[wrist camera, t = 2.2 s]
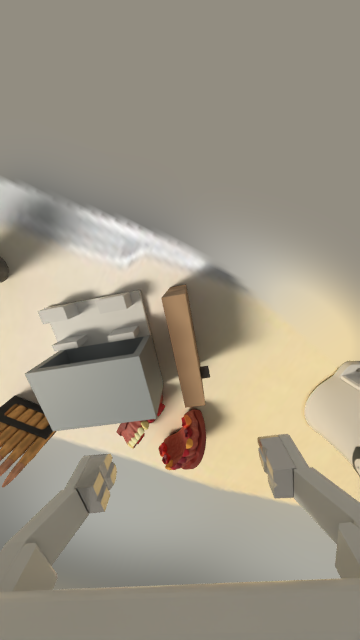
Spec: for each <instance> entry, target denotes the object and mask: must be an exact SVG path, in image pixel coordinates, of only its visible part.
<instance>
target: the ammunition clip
mask: <svg viewBox="0 0 360 640" xmlns="http://www.w3.org/2000/svg"><path fill="white" fill-rule="evenodd" d="M55 432H56V431H53V430H52V428H51V426H50V424H49V422H48V420H47V418H46V416H45V414H44V412H43V410H42V408H41V406H40V405H37V404H35V403H32V402H30V401H27V400H25V399H22V398H20V397H17V396H14V397H12V398H11V399H10V400H9V401H7V402H6V403H5V404H4V405H2V406H1V407H0V447H2V448H1V449H0V461H1V460H2V459H3V458H4V457H5V456H6V455H7V454H8V453H10V452H11V451H12V450H13V449H14V448H15V449H14V450H13V451H12V453H11V454H10V455H9V456H8V458H7V459H6V460H5V461H4V462H3V463H2V464H1V466H0V476H1V475H2V474H3V473H4V472H5V471H6V470H7V469H8V468H9V467H10V466H11V465H12V464H13V463H14V462H15V461H16V460H17V459H18V458H19V457H20V456H21V455H22V454H24V455H23V456H22V458H21V459H20V461H19V462H18V463H17V464H16V466H15V467H14V468H13V469H12V471H11V472H10V473H9V475H8V476H7V478H6V479H5V481H4V483H3V485H2V487H5V486H6V485H8V484H9V483H10V482H11V481H12V480H13V479H14V478H15V477H16V476H17V475H18V474H19V473H20V472H21V471H22V469H23V468H24V467H25V466H26V465H27V463H29V462H30V461H31V460H32V459H33V458H34V457H35V456H36V454H37V453H38V452H39V451H40V449H41V448H42V447H43V446H44V445H45V444H46V443H47V441H48V440H49V439H50V438H51V437H52V436H53V435H54V433H55ZM33 442H34V443H33ZM32 443H33V444H32ZM27 449H28V450H27ZM26 450H27V451H26ZM25 451H26V452H25Z"/></svg>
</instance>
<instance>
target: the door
mask: <svg viewBox="0 0 360 640" xmlns="http://www.w3.org/2000/svg"><path fill="white" fill-rule="evenodd" d="M162 303H163V307H164V312H165V316H166V321H167V326H168V330H169V335H170V339H171V344H172V348H173V353H174V358H175V362H176V367H177V371H178V376H179V380H180V385H181V390H182V394H183V399H184V403H185V408H186V407H194V406H202V405H205V399H204V391H203V383H202V378H209V377H210V374H209V368H208V366H203V367H200V361H199V356H198V350H197V344H196V339H195V333H194V327H193V322H192V316H191V310H190V305H189V299H188V293H187V288H186V285H180V286H175V287H170V288H169V289H168V291H167V292H166V293H165V294H164V296H163V297H162Z"/></svg>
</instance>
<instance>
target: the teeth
mask: <svg viewBox="0 0 360 640" xmlns="http://www.w3.org/2000/svg"><path fill="white" fill-rule="evenodd" d="M162 401H163V396H162V394H161V399H160V404H159V409H158V413H157V416H159V415H160V414H161V412H162V411H163V410H164V408H165V405H164V404H163V403H162ZM147 421H148V422H147ZM154 421H155V419H150V420H142V421H134V422H125V423H121V424H120V426H119V428H118V430H117V433H118V434H119V435H120V436H123V437H124V439H125V441H126V443H127V444H128V445H129V446H130V447H131V448H135V446H136V444H139V442H140V441H141V440H142V438H143V437H144V429H145V430H147V429H148V427H149V423H152V422H154ZM182 426H183V427H182V428H181V429H180V430H179V431H178V432H177V433H175V434H173V435H171V436H168V437H167V438H166V439H165V440H164V442H163V443H162V444H161V445H160V446H159V451H160V456H162V457H163V456H164V457H163V459H162V461H163V463H164V464H166V467H165V468H166V469H168V470H176V469H179V468H182V469H194V468H195V467H197V466H198V465H199V463H200V462H201V460H202V458H203V455H204V451H205V446H206V429H205V423H204V419H203V416H202V413H201V411H200V410H195V409H193V410H191V411H189V412H187V413H186V414H185V415H184V417H183V418H182Z"/></svg>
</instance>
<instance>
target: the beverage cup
mask: <svg viewBox="0 0 360 640" xmlns="http://www.w3.org/2000/svg"><path fill="white" fill-rule="evenodd" d="M7 277H8V267H7V265H6V263H5V261H4V260H3V259H2V258H1V257H0V282H3V281H5V280H6V279H7Z"/></svg>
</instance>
